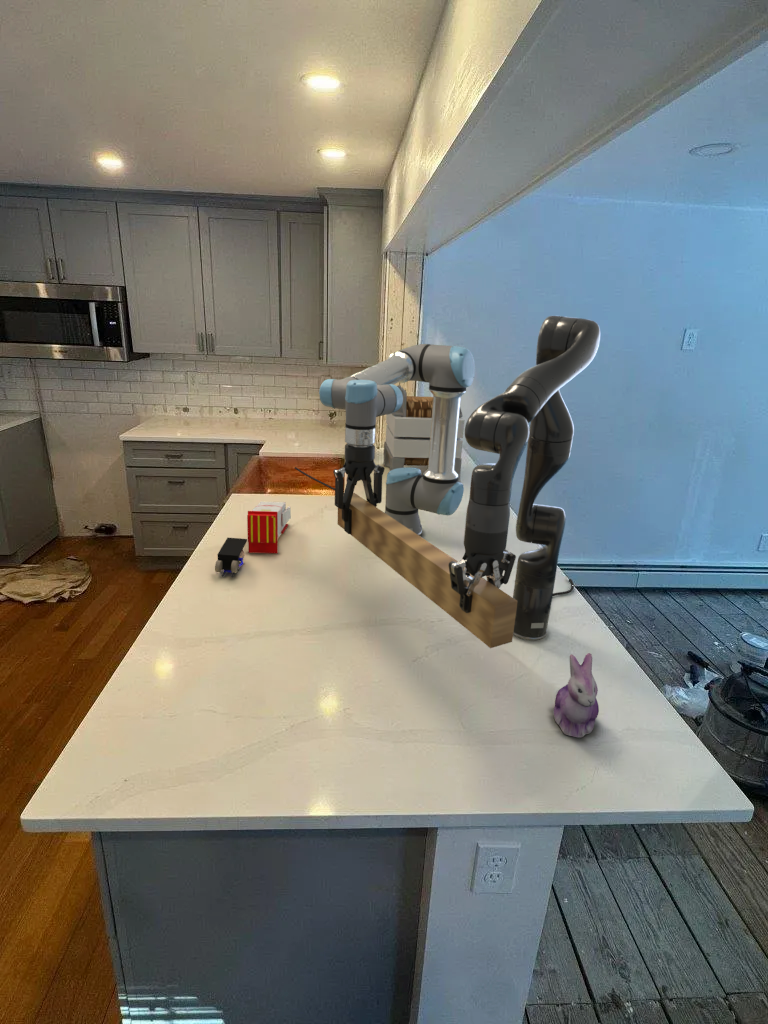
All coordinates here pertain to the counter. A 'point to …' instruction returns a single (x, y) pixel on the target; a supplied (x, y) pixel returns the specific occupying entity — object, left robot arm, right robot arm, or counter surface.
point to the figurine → (577, 700)
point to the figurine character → (230, 556)
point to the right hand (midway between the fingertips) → (477, 607)
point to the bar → (432, 573)
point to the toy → (266, 526)
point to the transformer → (414, 434)
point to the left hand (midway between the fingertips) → (357, 530)
